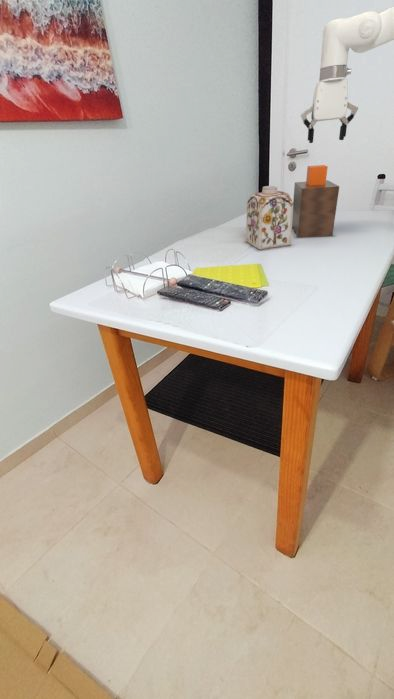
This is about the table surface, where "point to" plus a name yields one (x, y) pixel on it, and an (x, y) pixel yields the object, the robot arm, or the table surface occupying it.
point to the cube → (316, 175)
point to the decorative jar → (269, 218)
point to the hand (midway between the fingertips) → (326, 141)
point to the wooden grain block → (314, 209)
